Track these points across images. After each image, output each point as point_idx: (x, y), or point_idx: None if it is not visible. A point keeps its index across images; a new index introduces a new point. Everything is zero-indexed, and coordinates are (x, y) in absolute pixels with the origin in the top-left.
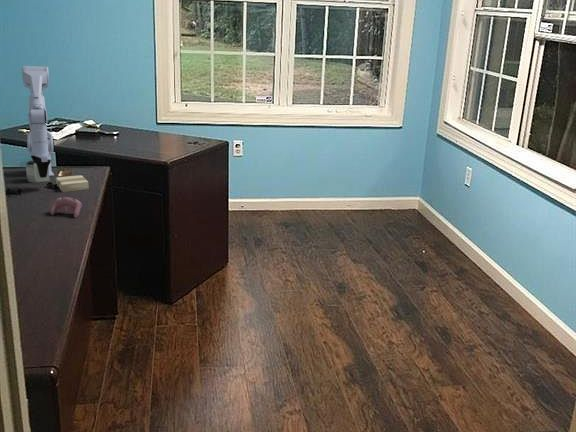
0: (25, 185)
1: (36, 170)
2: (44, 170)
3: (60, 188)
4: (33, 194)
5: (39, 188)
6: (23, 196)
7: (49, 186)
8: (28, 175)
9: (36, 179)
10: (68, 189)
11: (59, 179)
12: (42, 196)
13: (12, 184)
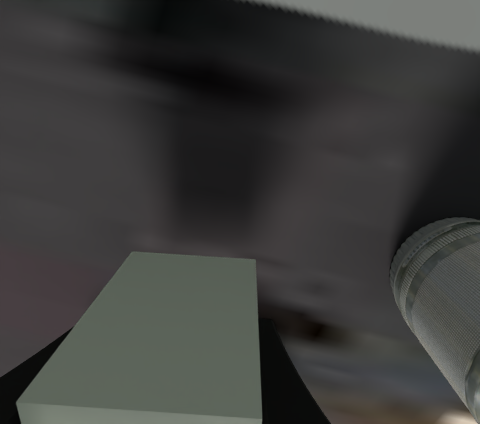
0: (358, 168)
1: (64, 341)
2: None
3: None
4: (91, 165)
5: (231, 242)
6: (54, 74)
7: None
8: (471, 241)
9: (159, 261)
10: None
11: None
12: (26, 211)
13: (449, 69)
